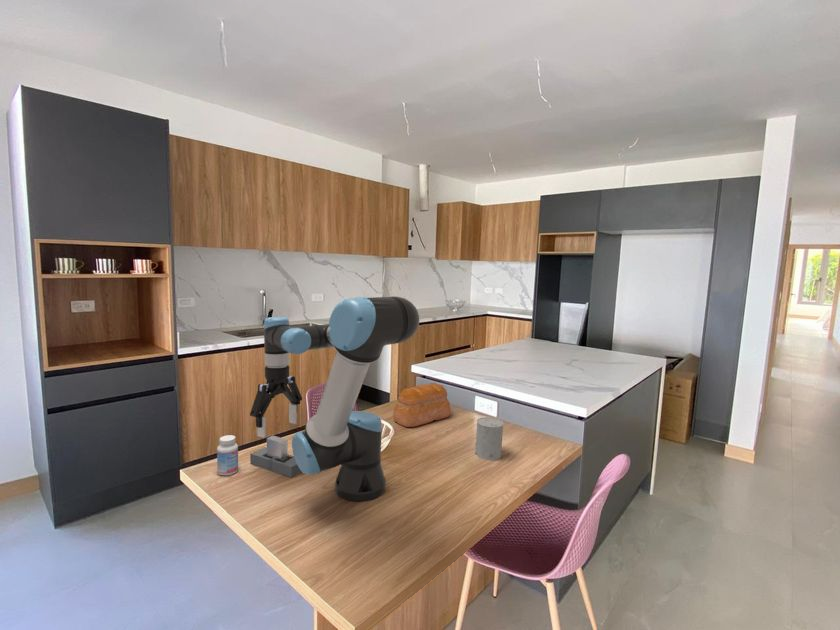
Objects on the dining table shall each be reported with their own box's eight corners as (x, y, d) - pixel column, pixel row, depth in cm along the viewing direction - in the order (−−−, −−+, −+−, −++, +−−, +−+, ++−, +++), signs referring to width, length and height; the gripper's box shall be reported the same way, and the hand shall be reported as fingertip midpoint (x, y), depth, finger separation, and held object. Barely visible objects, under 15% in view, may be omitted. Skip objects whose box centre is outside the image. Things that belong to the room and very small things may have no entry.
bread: (453, 417, 191) (455, 384, 189) (408, 430, 174) (410, 394, 172) (433, 409, 201) (435, 378, 200) (389, 420, 184) (390, 386, 183)
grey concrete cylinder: (472, 457, 152) (473, 424, 151) (478, 446, 161) (480, 415, 160) (498, 462, 149) (500, 429, 147) (503, 451, 158) (505, 420, 156)
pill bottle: (230, 477, 132) (230, 443, 130) (213, 474, 133) (212, 440, 131) (242, 468, 137) (242, 435, 136) (225, 466, 139) (225, 433, 137)
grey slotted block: (304, 469, 138) (304, 459, 138) (291, 477, 133) (291, 467, 132) (264, 456, 146) (264, 447, 146) (250, 463, 141) (250, 453, 140)
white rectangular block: (287, 465, 139) (287, 439, 138) (281, 469, 137) (281, 442, 136) (272, 461, 142) (272, 435, 141) (266, 464, 140) (266, 438, 139)
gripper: (295, 357, 148) (296, 416, 150) (236, 371, 126) (237, 440, 128) (312, 359, 145) (312, 419, 147) (254, 375, 123) (255, 445, 125)
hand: (277, 429), depth 138 cm, fingers open, 13 cm apart
